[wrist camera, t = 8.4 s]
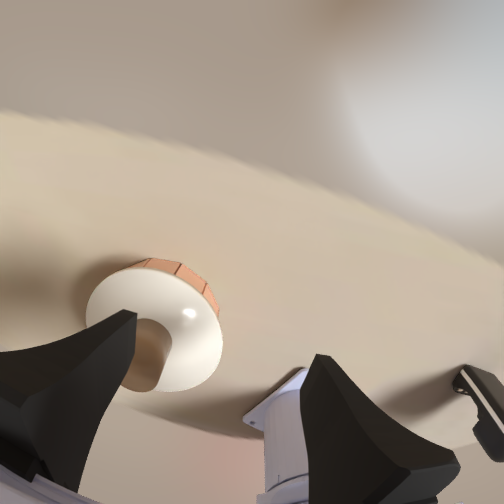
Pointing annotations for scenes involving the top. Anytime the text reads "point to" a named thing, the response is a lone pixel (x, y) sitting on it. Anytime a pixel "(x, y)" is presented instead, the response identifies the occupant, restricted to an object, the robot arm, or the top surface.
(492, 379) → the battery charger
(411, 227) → the top surface
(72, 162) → the top surface
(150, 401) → the top surface
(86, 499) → the robot arm
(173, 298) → the lid
